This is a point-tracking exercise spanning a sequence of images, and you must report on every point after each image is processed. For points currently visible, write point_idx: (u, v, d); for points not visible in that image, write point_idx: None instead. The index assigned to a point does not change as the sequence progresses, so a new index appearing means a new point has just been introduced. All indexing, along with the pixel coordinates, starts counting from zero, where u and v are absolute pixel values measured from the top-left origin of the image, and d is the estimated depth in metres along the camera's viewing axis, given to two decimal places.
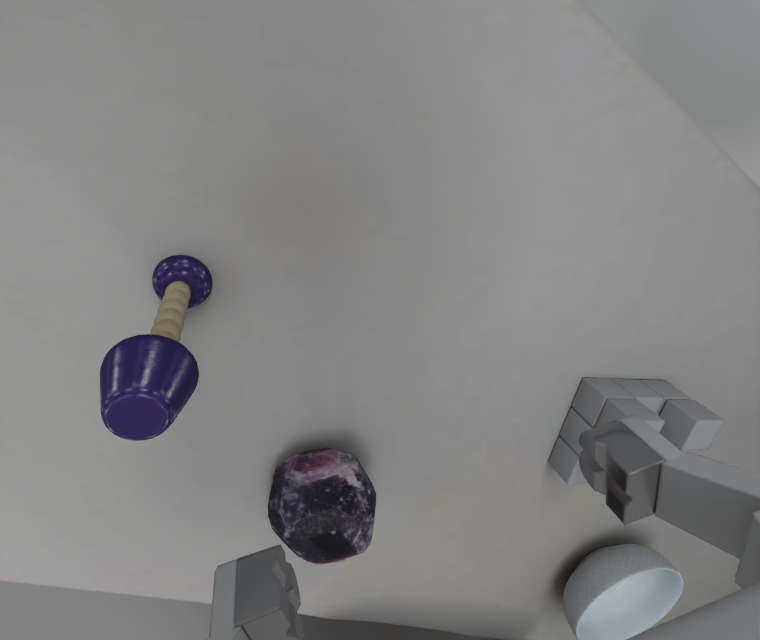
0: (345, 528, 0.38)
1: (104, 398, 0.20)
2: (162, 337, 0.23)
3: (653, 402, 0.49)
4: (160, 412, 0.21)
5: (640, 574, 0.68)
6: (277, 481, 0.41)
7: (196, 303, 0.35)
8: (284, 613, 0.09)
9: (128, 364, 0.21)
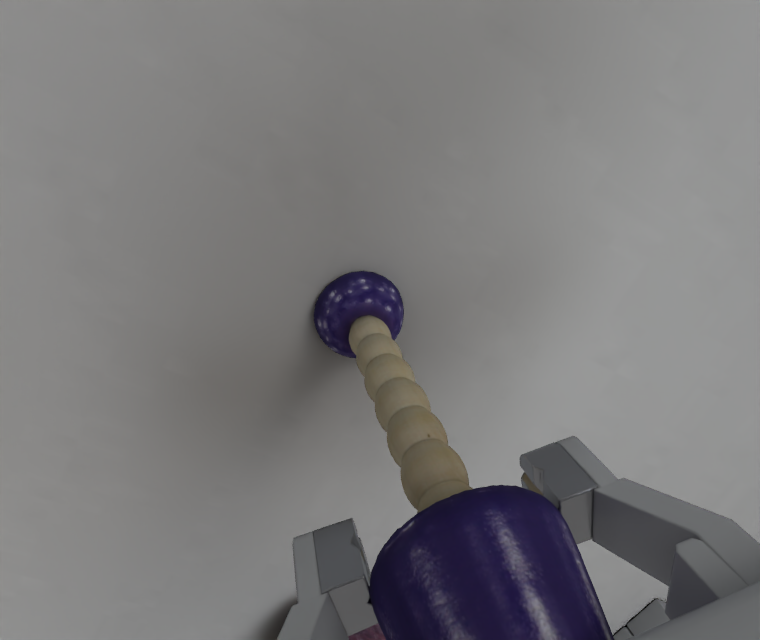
0: None
1: None
2: (558, 510, 0.10)
3: None
4: None
5: None
6: None
7: None
8: (367, 581, 0.09)
9: (563, 598, 0.08)
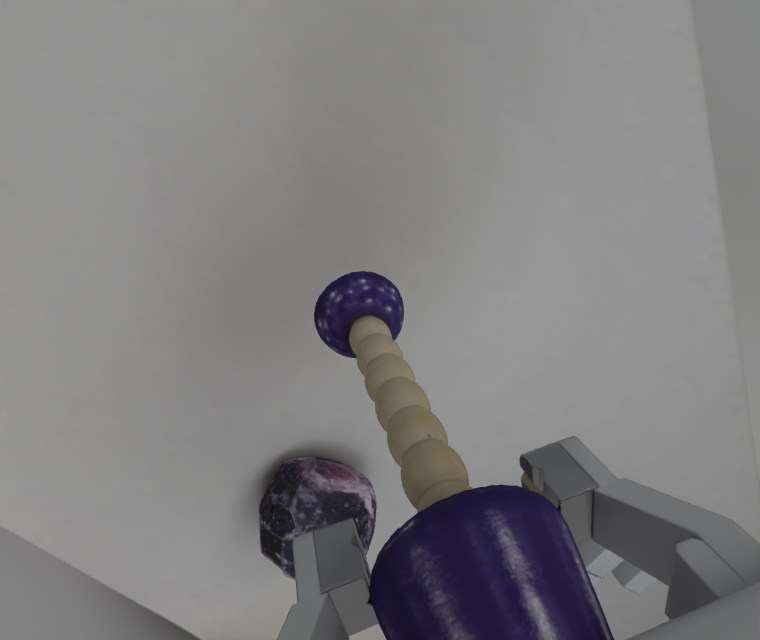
0: None
1: None
2: (557, 509, 0.10)
3: None
4: None
5: None
6: (288, 476, 0.38)
7: None
8: (367, 581, 0.09)
9: (564, 597, 0.08)
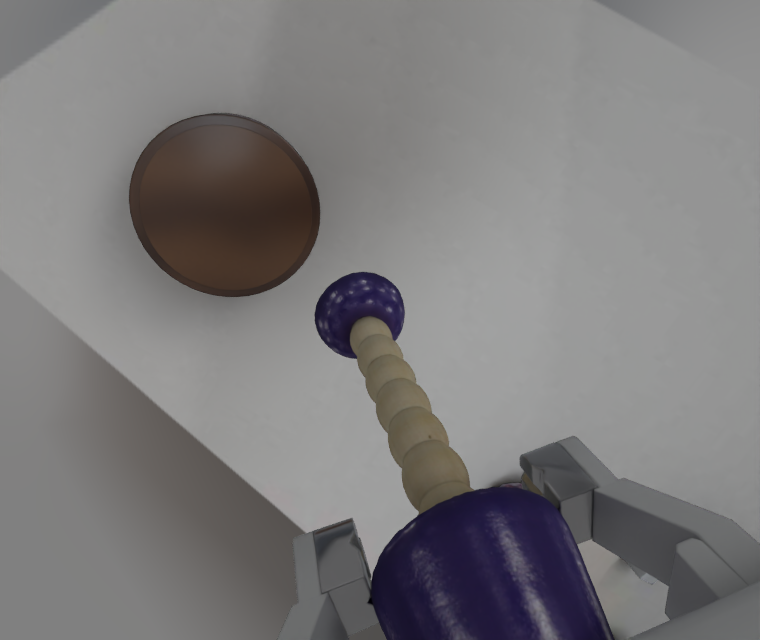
0: None
1: None
2: None
3: None
4: None
5: None
6: None
7: None
8: (367, 581, 0.09)
9: (565, 599, 0.08)
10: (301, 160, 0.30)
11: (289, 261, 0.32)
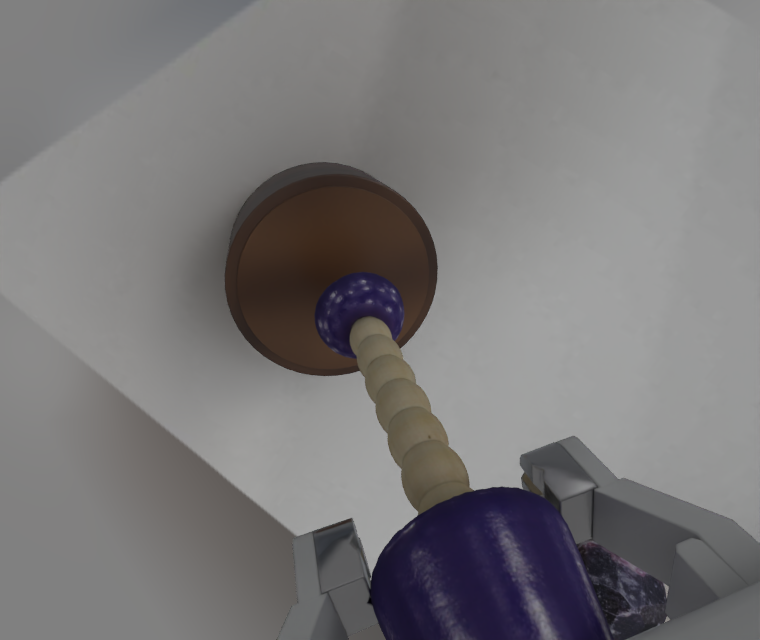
0: None
1: None
2: (558, 511, 0.10)
3: None
4: None
5: None
6: (599, 560, 0.48)
7: None
8: (367, 581, 0.09)
9: (565, 600, 0.08)
10: (423, 222, 0.25)
11: None
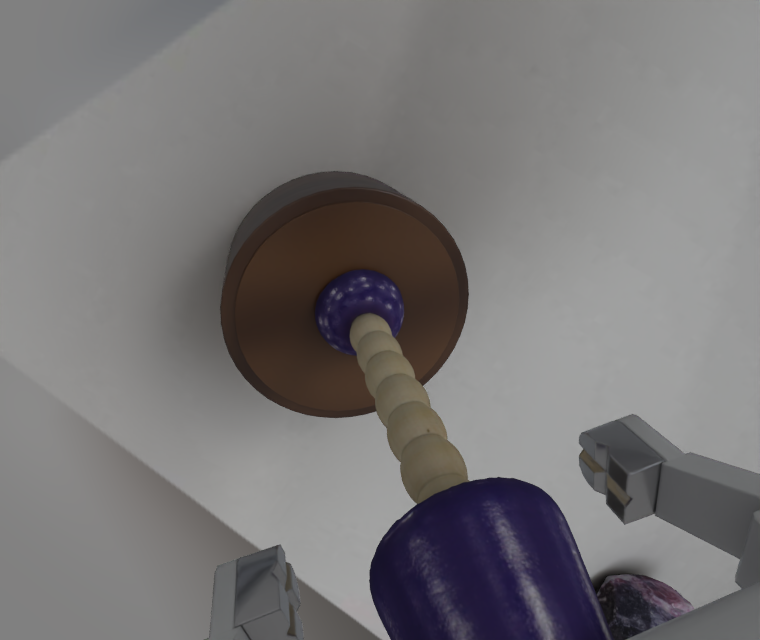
0: None
1: None
2: None
3: None
4: None
5: None
6: (629, 599, 0.44)
7: None
8: (284, 613, 0.09)
9: (559, 586, 0.08)
10: (453, 243, 0.21)
11: (421, 369, 0.24)
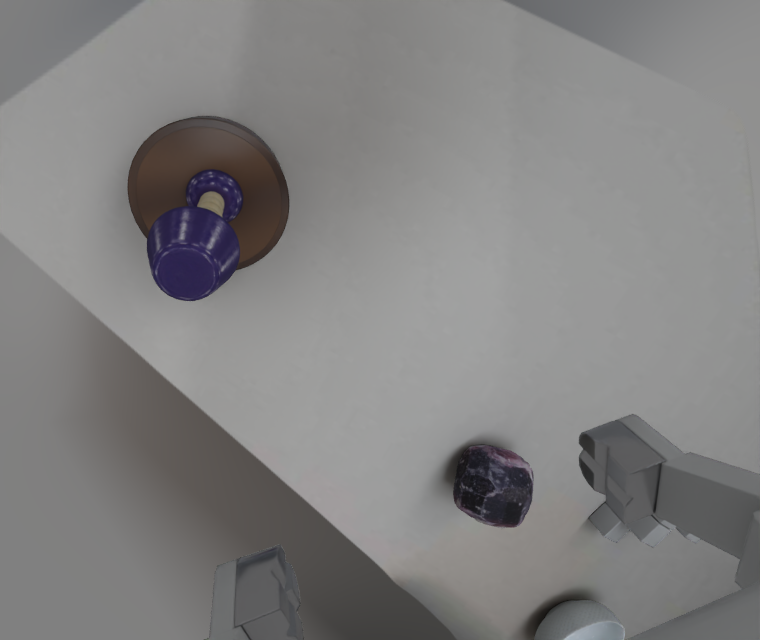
0: (525, 504, 0.55)
1: (167, 242, 0.21)
2: (226, 221, 0.24)
3: None
4: (209, 279, 0.21)
5: (586, 631, 0.88)
6: (478, 457, 0.58)
7: None
8: (284, 613, 0.09)
9: (197, 225, 0.22)
10: (271, 155, 0.35)
11: (264, 241, 0.38)
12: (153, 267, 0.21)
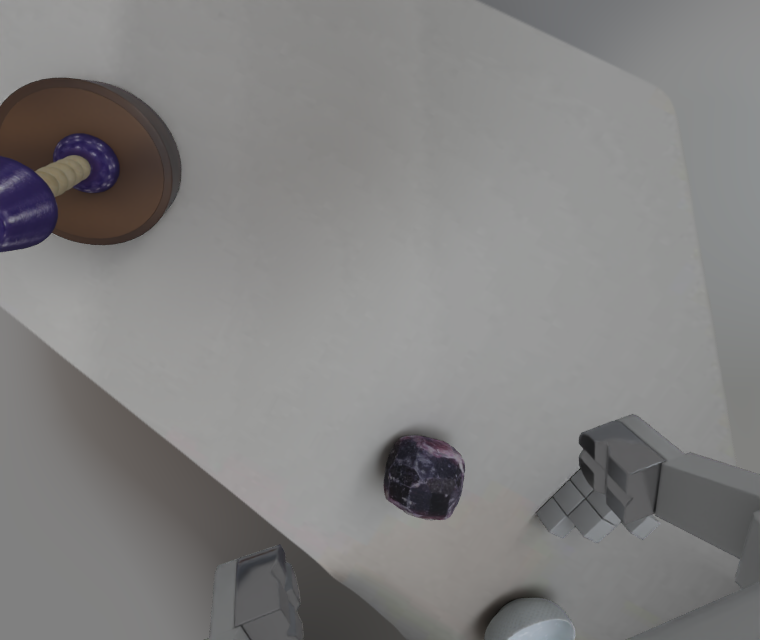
0: (452, 495, 0.54)
1: None
2: (35, 173, 0.22)
3: None
4: None
5: (539, 629, 0.87)
6: (407, 447, 0.56)
7: (90, 189, 0.33)
8: (284, 613, 0.09)
9: None
10: (147, 120, 0.34)
11: (148, 212, 0.36)
12: None
